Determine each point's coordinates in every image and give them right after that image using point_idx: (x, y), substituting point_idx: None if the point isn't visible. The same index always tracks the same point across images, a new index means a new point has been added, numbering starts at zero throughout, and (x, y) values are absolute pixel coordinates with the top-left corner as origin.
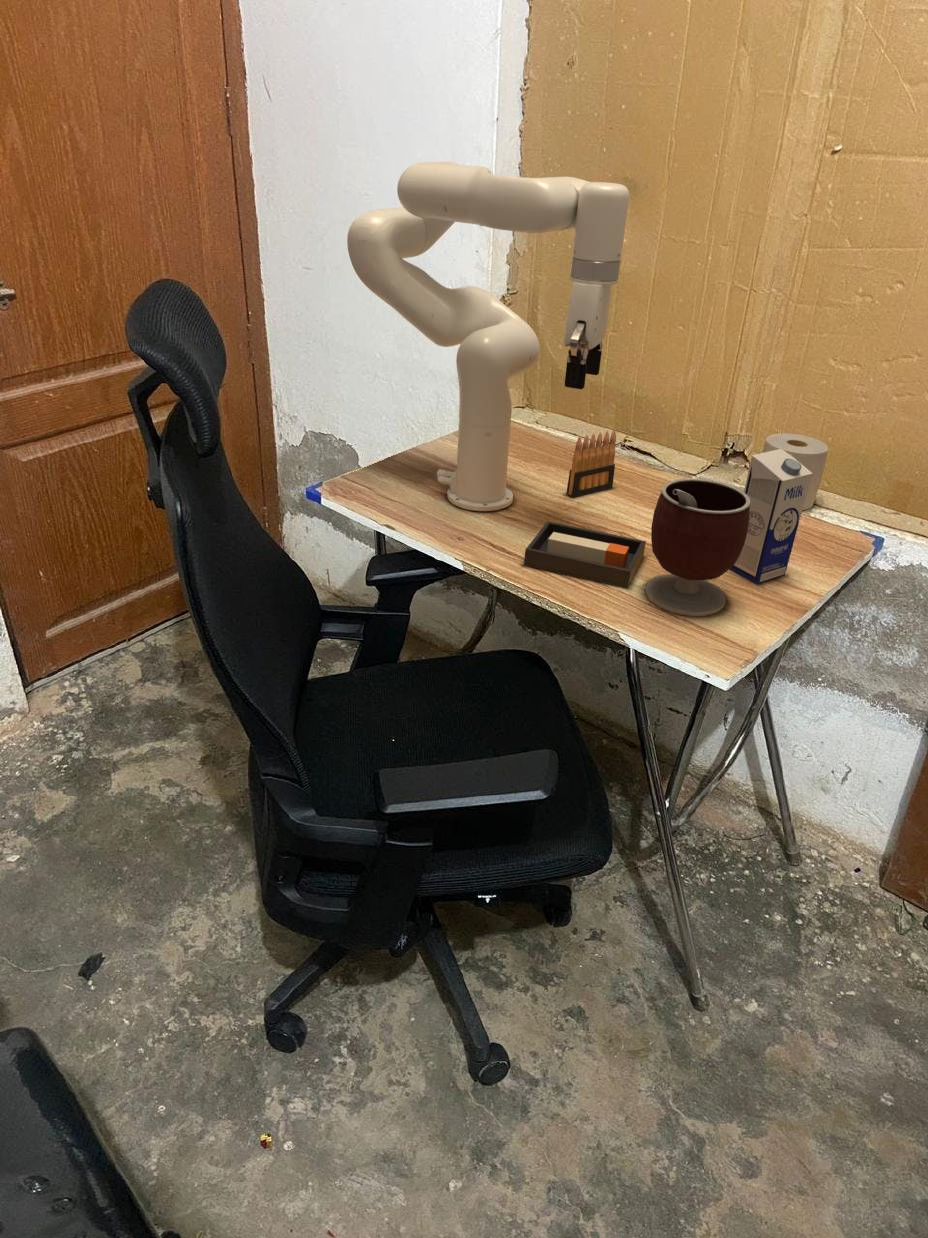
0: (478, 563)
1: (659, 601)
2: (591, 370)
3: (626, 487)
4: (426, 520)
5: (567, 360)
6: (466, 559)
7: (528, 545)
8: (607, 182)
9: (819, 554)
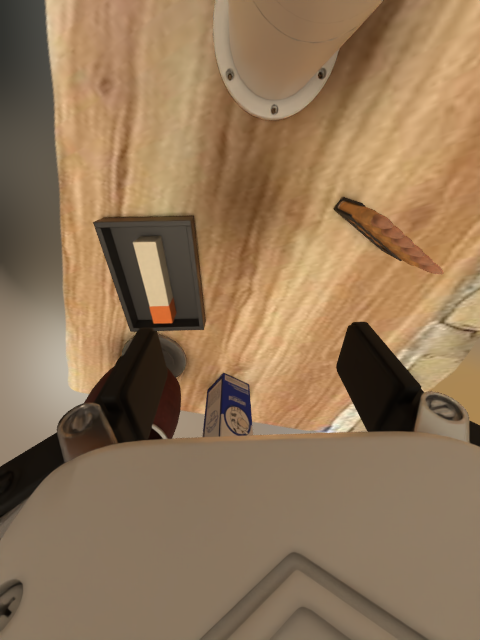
0: (61, 156)
1: (125, 348)
2: (345, 360)
3: (388, 265)
4: None
5: (64, 416)
6: (57, 131)
7: (104, 222)
8: None
9: (279, 412)
